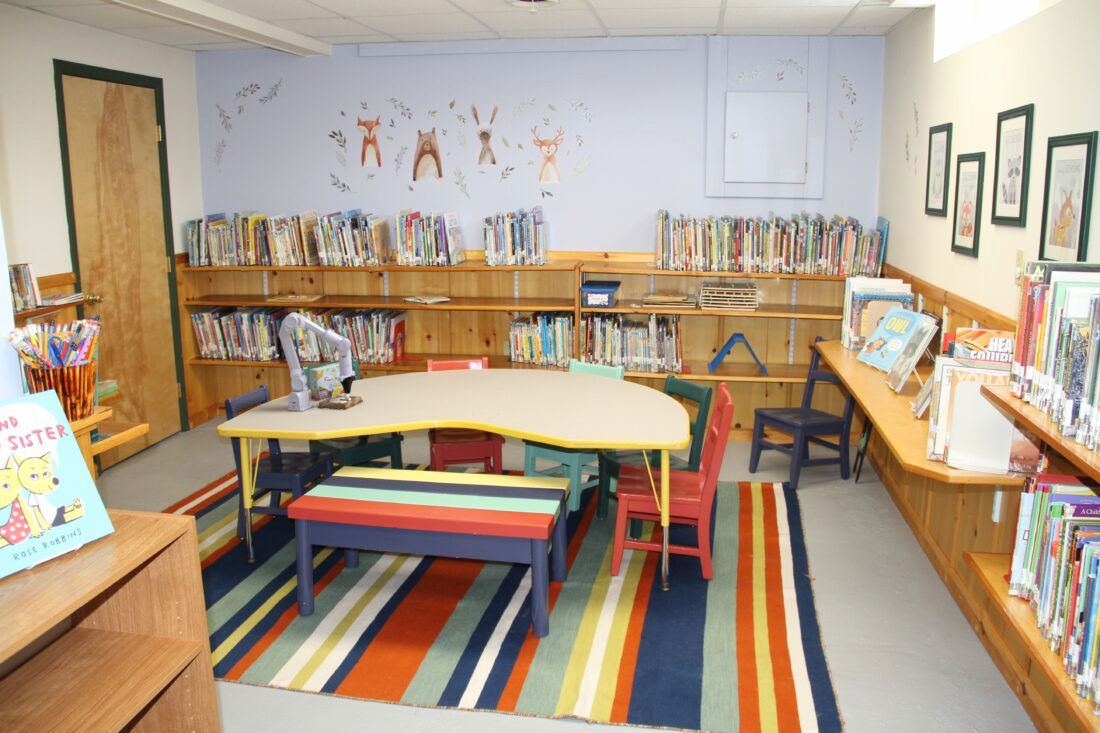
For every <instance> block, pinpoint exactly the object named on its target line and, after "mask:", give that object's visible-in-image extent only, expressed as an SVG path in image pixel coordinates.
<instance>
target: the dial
mask: <svg viewBox="0 0 1100 733" xmlns="http://www.w3.org/2000/svg"><path fill="white" fill-rule="evenodd" d="M343 396H345V397H337V398H333V399H330V400H329V402H335V403H339V402H340V403H345V402H347V401H350V400H351V398H349V396H350V394H345V393H344V394H343Z"/></svg>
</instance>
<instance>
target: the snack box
mask: <svg viewBox="0 0 1100 733" xmlns="http://www.w3.org/2000/svg"><path fill="white" fill-rule="evenodd" d="M308 372H309V383H310V384H309V386H310V397H311V400H313V399H314V401H318V400H319V401H321V399H322V400H326V399H328V398H330V397H332V396H335V395H338V396H340V395H339V394H341V395H343V394H342V393H344V394H345V392H344V389H343V386H342V384H341V383H340V381H338V378H337V377H339V374H340V370H339V362H334V363H332V364H327V365H322V366H318V367H314V368H310V369H308ZM325 398H326V399H325Z"/></svg>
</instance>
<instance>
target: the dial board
mask: <svg viewBox="0 0 1100 733" xmlns="http://www.w3.org/2000/svg"><path fill="white" fill-rule="evenodd" d="M337 397H345V396H344V395H335V396H333V397H329V398H326V399H322V401H321V400H320V401H319V402H318V405H317V406H316V407H317V409H323V408H329V409H328V410H341V409H343V410H345V411H346V409H347V410H348V409H351V408H353V407H355V406H357V405H359V403H360V404H362V403H363V402H364V399H362V396H357V395H356V396H355V395H354V396H353V395H349V398H351V400H350V401H347V402H345V403H340V402H339V403H335V402H329V400H330V399H333V398H337ZM361 402H362V403H361ZM343 410H342V411H343Z"/></svg>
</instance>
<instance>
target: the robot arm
mask: <svg viewBox="0 0 1100 733" xmlns="http://www.w3.org/2000/svg"><path fill="white" fill-rule="evenodd" d="M297 326H298V328H299V329H302V328H303V329H307V330H308V331H309V330H310V331H311V332H313V333H315V334H316V335H319V336H320V337H321V338H322V341H324V342H325V343H328V345H331V346H332V347H333V348H336V349H337V351H338V356H337V357H338V363H339V370H340V374H339V377H337V378H338V381H340V383H341V384H342V386H343V389H344V392H345V393H344V394H349V395H350V394H351V392H352V386H353V382H354V379H355V375H356V372H355V370H353V363H352V362H353V361H352V352H351V346H352V344H351V340H350V339H348V338H347V337H344V335H339V334H338V333H337V332H335V330H334V329H330V328H329V329H325V328H323V327H321V326H320V325H318V324H317V323H315V322H313V321H312V320H310V319H309V318H307V317H305V316H304V315H302V314H299V313H298V312H296V311H295V312H294V311H293V312H291V313H289V314H288V315H287V316H285V318H283V320H282V321H281V326H280V328H279V330H278V331H279V332H278V337H279V339H280V343H281V347H282V349H283V352H284V357H285V359H286V362H287V365H288V369H289V372H290V373H289V374H290V380H291V381H290V387H291V392H290V393H289V394H288V397H287V400H288V409H287V411H290V410H292V412H293V411H295V412H304V411H306V410H308V409H311V408H313V407H314V404H312V405H311V404H310V395H309V394H310V393H309V386H307V384H308V376H307V375H306V374H305V373H304V370H303V368H301V364H300V360H299V356H298V355H297V354H298V353H297V351H296V348H295V345H294V342H293V338H292V333H293V332H294V330H295V329H296V328H297Z"/></svg>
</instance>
